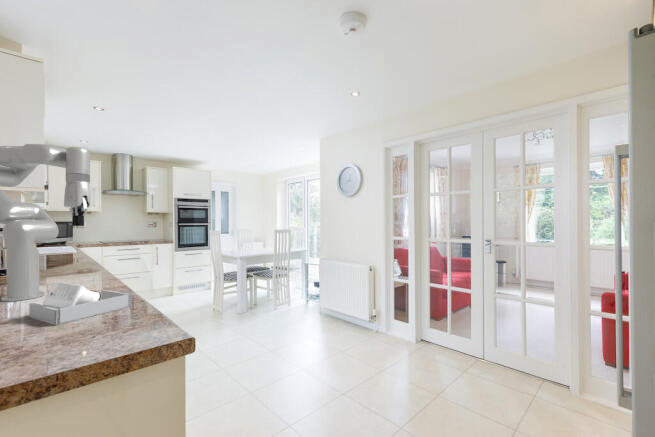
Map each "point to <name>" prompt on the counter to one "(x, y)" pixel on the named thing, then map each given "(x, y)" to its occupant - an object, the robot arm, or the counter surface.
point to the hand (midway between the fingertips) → (78, 225)
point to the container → (69, 295)
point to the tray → (80, 308)
